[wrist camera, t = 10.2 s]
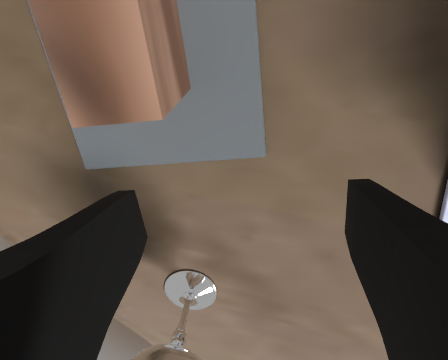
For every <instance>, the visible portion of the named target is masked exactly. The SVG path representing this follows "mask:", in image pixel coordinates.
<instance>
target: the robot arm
mask: <svg viewBox="0 0 448 360" xmlns="http://www.w3.org/2000/svg"><path fill="white" fill-rule="evenodd" d="M345 235H346V240H347V244H348V248H349V252H350V255H351V259H352V262H353V264H354V267H355V269H356V272H357V274H358V277H359V279H360V282H361V284H362V286H363V289H364V291H365V294H366V296H367V299H368V301H369V304H370V306H371V308H372V311H373V313H374V316H375V318H376V321H377V323H378V326H379V329H380V332H381V335H382V338H383V341H384V345H385V348H386V352H387V355H388V359H389V360H448V180H447V185H446V190H445V194H444V199H443V204H442V208H441V213H440V218H439V219H438V218H436V217H434V216H433V215H431V214H429V213H427V212H425V211H423V210H421V209H420V208H418V207H416V206H414V205H413V204H411V203H409V202H407V201H406V200H404V199H402V198H401V197H399V196H397V195H396V194H394V193H392V192H391V191H389V190H388V189H386V188H384V187H383V186H381V185H379V184H378V183H376V182H374V181H372V180H370V179H354V180H348V192H347V207H346V222H345ZM146 241H147V234H146V230H145V227H144V223H143V219H142V216H141V212H140V208H139V205H138V201H137V197H136V194H135V190H128V191H117V192H115V193H112V194H110V195H108V196H106V197H104V198H102V199H101V200H99V201H97V202H95V203H94V204H92V205H90V206H88V207H87V208H85V209H83V210H81V211H80V212H78V213H76V214H74V215H73V216H71V217H69V218H67V219H65V220H64V221H62V222H60V223H58V224H56V225H54V226H52V227H51V228H49V229H47V230H45V231H43V232H41V233H39V234H37V235H35V236H33V237H31V238H29V239H27V240H25V241H23V242H21V243H18V244H16V245H14V246H12V247H10V248H7V249H5V250H3V251H0V360H97V357H98V354H99V351H100V349H101V346H102V343H103V341H104V338H105V335H106V332H107V330H108V327H109V325H110V323H111V320H112V318H113V316H114V314H115V312H116V310H117V308H118V306H119V304H120V302H121V300H122V298H123V296H124V294H125V292H126V290H127V288H128V286H129V283H130V281H131V279H132V277H133V275H134V273H135V271H136V269H137V267H138V265H139V262H140V260H141V257H142V254H143V251H144V247H145V244H146Z"/></svg>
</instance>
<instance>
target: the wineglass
mask: <svg viewBox="0 0 448 360" xmlns="http://www.w3.org/2000/svg"><path fill="white" fill-rule="evenodd" d="M164 289H165V293H166V295H167V297H168V298H169V300H170V301H171V302H172V303H174V304H175V305H177V306H179V307H181V308H183V311H182V315H181V319H180V322H179V324H178V326H177V328H176V330H175V331H174V333H173V335H172V338H171V344H159V345H154V346H151V347H148V348H146V349H144V350H143V351H141V352H140V353H138V354H137V355H136V356H135V357H134V358H133V359H132V360H200V358H199V357H198V356H197V355H195V354H194V353H193V352H191V351H190V350H188V349H186V348H184V347H183V346H184V343H185V336H186V333H185V325H186V319H187V315H188V311H189V310H201V309H204V308H207V307H209V306H210V305H212V304H213V302H214V301H215V299H216V297H217V289H216V286H215V284H214V283H213V282H212V281H211V280H210V279H209V278H208V277H207V276H205V275H203V274H201V273H199V272H195V271H188V270H185V271H179V272H176V273H173V274H172V275H170V276H169V277H168V278H167V280H166V282H165V286H164Z"/></svg>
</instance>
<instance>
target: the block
mask: <svg viewBox="0 0 448 360" xmlns="http://www.w3.org/2000/svg"><path fill="white" fill-rule="evenodd" d="M28 2H29V5H30V7H31V10H32V13H33V16H34V19H35V22H36V25H37V28H38V31H39V34H40V36H41V39H42V42H43V45H44V48H45V51H46V54H47V57H48V60H49V62H50V65H51V68H52V71H53V74H54V77H55V80H56V83H57V86H58V88H59V91H60V94H61V97H62V100H63V103H64V106H65V109H66V112H67V114H68V117H69V120H70V123H71V126H72V128H78V127H89V126H100V125H111V124H122V123H133V122H144V121H155V120H163V119H164V118H165V117H166V116H167V114H168V113H169V112H170V111H171V110H172V109H173V108H174V107H175V106H176V104H177V103H178V102H179V101H180V100H181V99H182V98H183V97H184V96H185V95H186V93H187V92H188V91H189V90H190V89H191V86H190V80H189V74H188V68H187V62H186V56H185V50H184V44H183V37H182V31H181V25H180V19H179V13H178V7H177V1H176V0H28Z"/></svg>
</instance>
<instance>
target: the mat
mask: <svg viewBox="0 0 448 360" xmlns="http://www.w3.org/2000/svg"><path fill="white" fill-rule="evenodd" d="M176 1H177V7H178V13H179V19H180V25H181V31H182V37H183V44H184V50H185V56H186V62H187V68H188V74H189V80H190V86H191V89H190V90H189V91H188V92H187V93H186V95H185V96H184V97H183V98H182V99H181V100H180V101H179V102H178V103H177V104H176V106H175V107H174V108H173V109H172V110H171V111H170V112H169V113H168V114H167V116H166V117H165V118H164V119H163V120H155V121H144V122H133V123H122V124H111V125H100V126H89V127H78V128H72V126H71V123H70V120H69V117H68V114H67V112H66V114H67V117H68V120H69V123H70V126H71V128H72V131H73V134H74V137H75V140H76V143H77V146H78V149H79V151H80V154H81V157H82V160H83V163H84V166H85V169H100V168H114V167H129V166H143V165H157V164H171V163H185V162H199V161H213V160H227V159H241V158H255V157H266V146H265V131H264V116H263V101H262V86H261V72H260V57H259V42H258V27H257V12H256V0H176ZM27 2H28V0H27ZM28 5H29V2H28ZM29 8H30V11H31V13H32V10H31V7H30V5H29ZM32 16H33V13H32ZM33 19H34V16H33ZM34 22H35V19H34ZM35 25H36V22H35ZM36 28H37V25H36ZM37 31H38V28H37ZM38 34H39V31H38ZM39 36H40V34H39ZM40 39H41V36H40ZM41 42H42V39H41ZM42 45H43V42H42ZM43 48H44V45H43ZM44 51H45V48H44ZM45 54H46V51H45ZM46 57H47V54H46ZM47 59H48V57H47ZM48 62H49V60H48ZM49 65H50V62H49ZM50 68H51V65H50ZM51 71H52V68H51ZM52 74H53V71H52ZM53 77H54V74H53ZM54 80H55V77H54ZM55 82H56V80H55ZM56 85H57V83H56ZM57 88H58V86H57ZM58 91H59V88H58ZM59 94H60V91H59ZM60 97H61V94H60ZM61 100H62V97H61ZM62 103H63V100H62ZM63 105H64V103H63ZM64 108H65V106H64ZM65 111H66V109H65Z"/></svg>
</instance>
